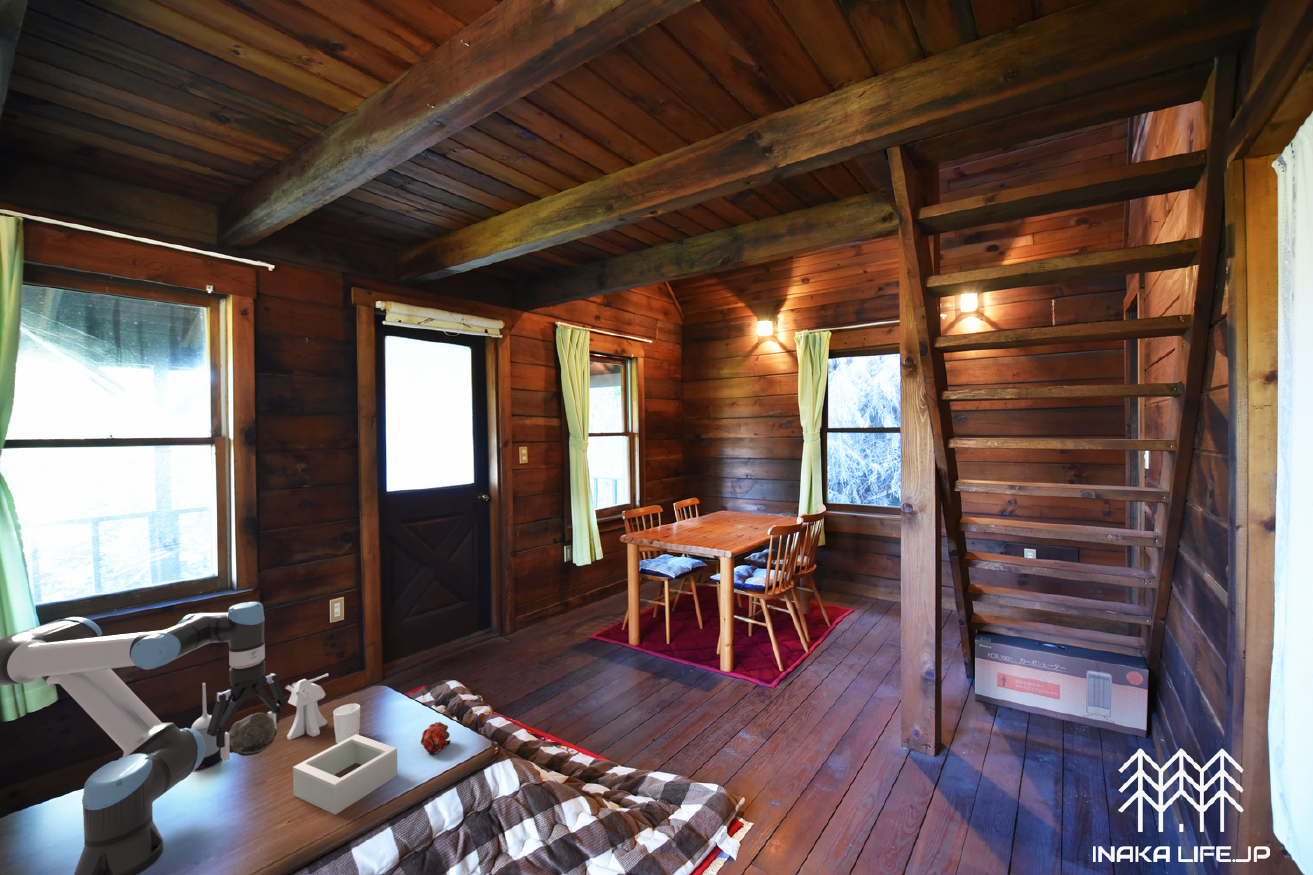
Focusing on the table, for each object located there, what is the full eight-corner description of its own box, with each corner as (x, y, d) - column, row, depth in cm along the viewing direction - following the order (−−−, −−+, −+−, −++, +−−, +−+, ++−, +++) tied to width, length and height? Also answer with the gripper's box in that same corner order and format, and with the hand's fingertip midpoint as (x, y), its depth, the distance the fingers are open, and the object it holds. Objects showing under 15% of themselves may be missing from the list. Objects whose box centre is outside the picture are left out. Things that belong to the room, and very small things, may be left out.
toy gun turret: (338, 725, 194) (336, 674, 194) (297, 743, 183) (295, 689, 183) (320, 717, 200) (319, 667, 200) (279, 734, 189) (278, 681, 189)
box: (335, 814, 147) (334, 784, 147) (293, 795, 156) (292, 766, 156) (397, 775, 164) (396, 748, 164) (356, 759, 173) (356, 733, 173)
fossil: (249, 760, 138) (232, 724, 139) (224, 773, 140) (207, 737, 141) (287, 735, 149) (270, 702, 150) (263, 748, 151) (247, 715, 152)
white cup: (335, 736, 187) (334, 706, 187) (361, 730, 190) (360, 701, 190) (332, 747, 180) (331, 717, 180) (360, 741, 183) (359, 711, 183)
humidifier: (193, 773, 167) (191, 691, 167) (185, 764, 172) (183, 684, 172) (226, 760, 174) (224, 681, 174) (218, 752, 179) (216, 675, 179)
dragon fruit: (438, 743, 184) (438, 768, 173) (415, 734, 181) (413, 758, 169) (454, 721, 185) (455, 744, 173) (431, 711, 181) (431, 734, 170)
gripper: (202, 683, 133) (205, 774, 133) (300, 649, 153) (302, 729, 153) (187, 677, 136) (189, 767, 136) (285, 645, 157) (287, 723, 157)
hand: (249, 747), depth 145 cm, fingers closed on fossil, 10 cm apart
